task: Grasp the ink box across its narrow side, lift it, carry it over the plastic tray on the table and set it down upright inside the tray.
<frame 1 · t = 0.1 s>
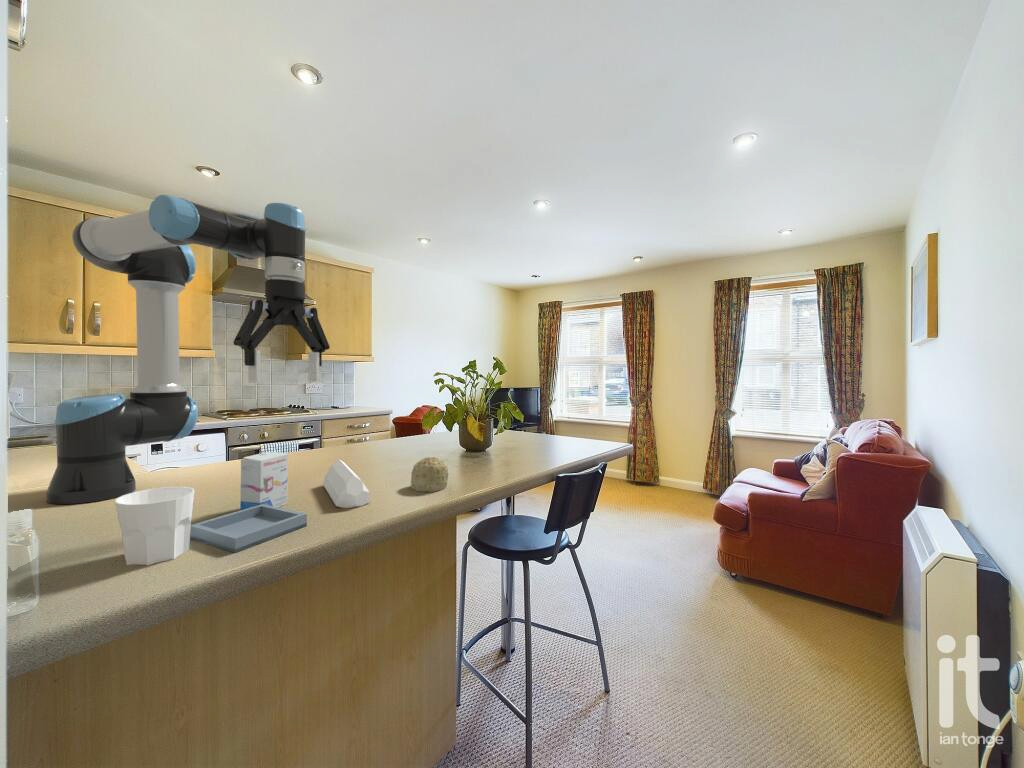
hand: (286, 382, 93), 28 cm above the countertop, fingers open, 13 cm apart
ink box: (265, 509, 96), on the countertop
decorative object: (429, 488, 115), on the countertop
crystal: (345, 496, 107), on the countertop
cup: (157, 555, 72), on the countertop
tray: (250, 532, 82), on the countertop
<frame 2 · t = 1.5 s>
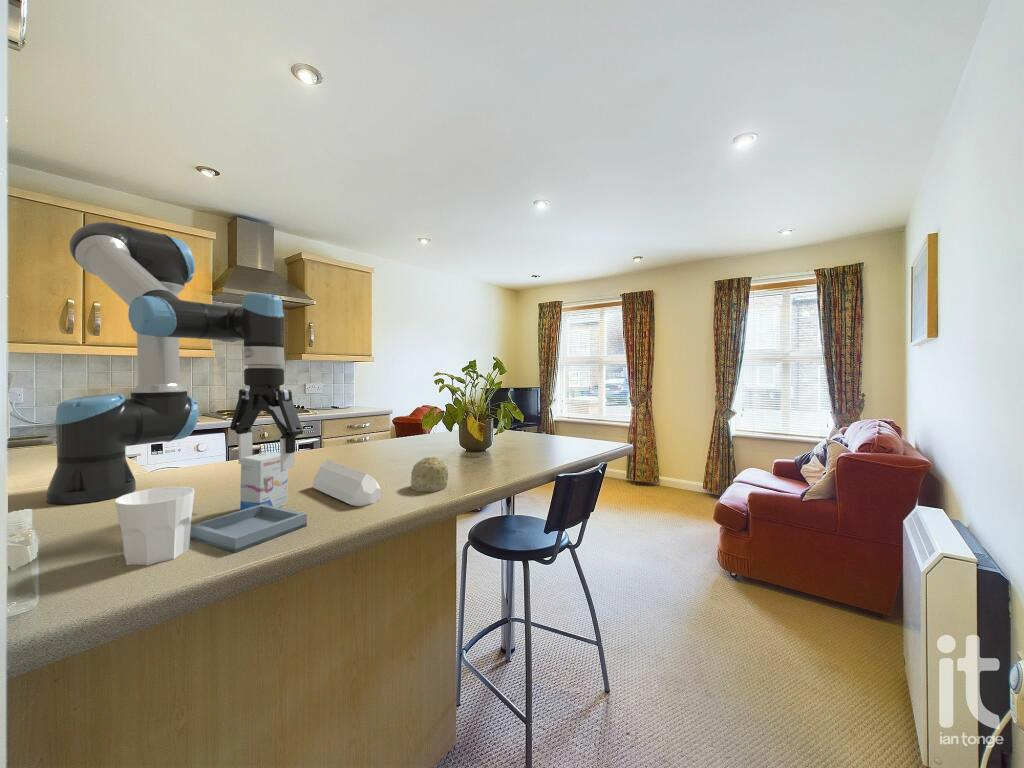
hand: (266, 465, 95), 9 cm above the countertop, fingers open, 13 cm apart
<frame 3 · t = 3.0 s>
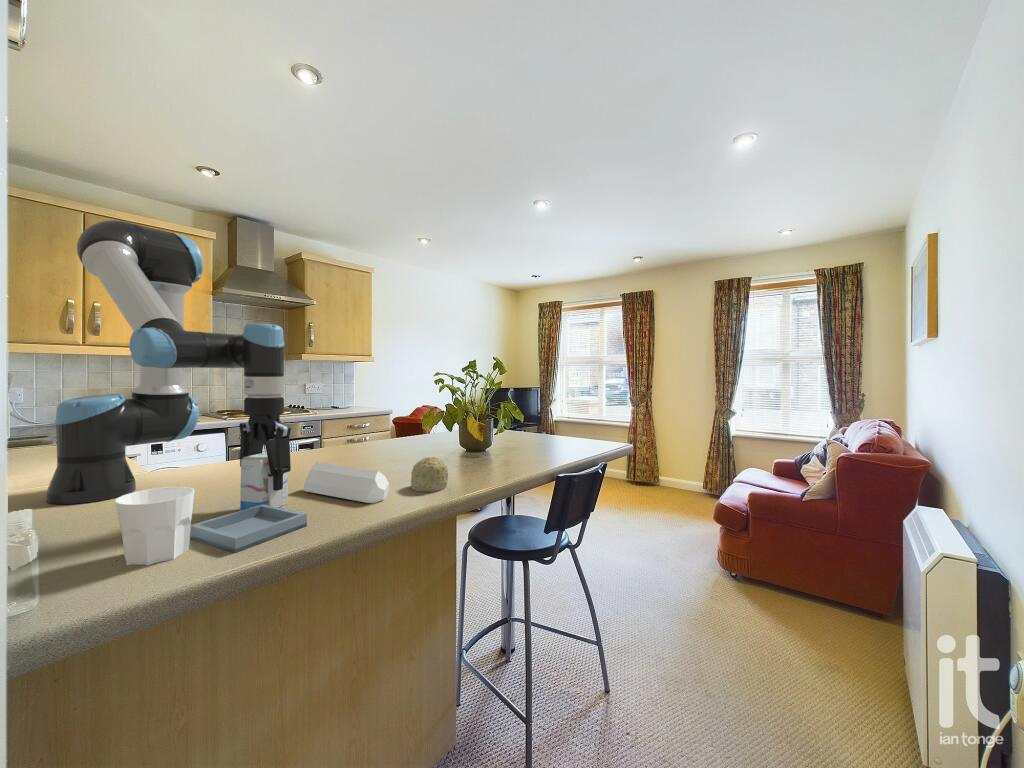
hand: (265, 502, 96), 1 cm above the countertop, fingers closed on ink box, 6 cm apart
ink box: (265, 509, 96), on the countertop, touching gripper
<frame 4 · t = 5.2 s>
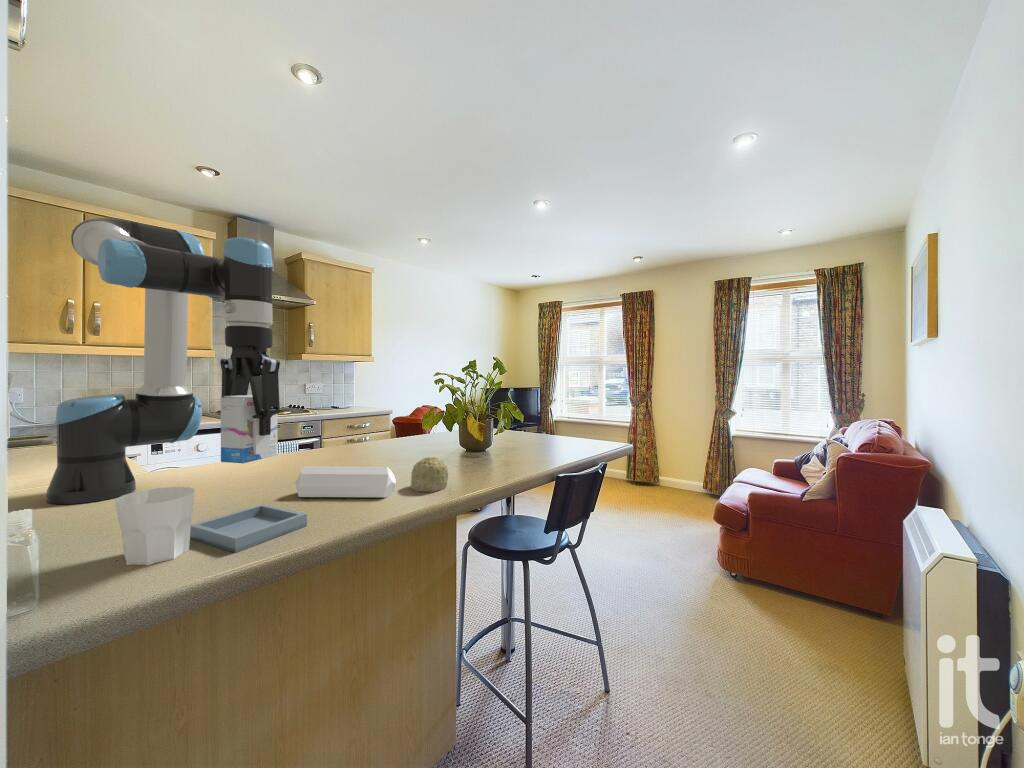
hand: (250, 451, 82), 15 cm above the countertop, fingers closed on ink box, 6 cm apart
ink box: (250, 459, 82), point 14 cm above the countertop, touching gripper
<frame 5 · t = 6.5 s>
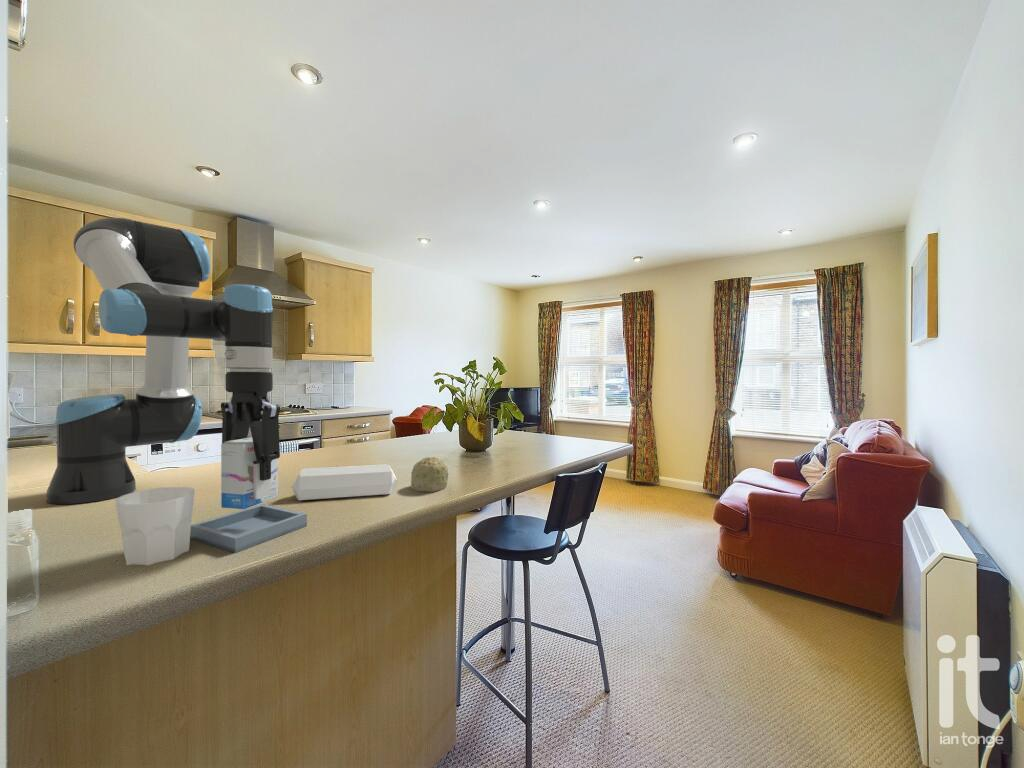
hand: (250, 494, 82), 7 cm above the countertop, fingers closed on ink box, 6 cm apart
ink box: (251, 503, 82), point 5 cm above the countertop, touching gripper
when the fingers open (3 cm above the countertop, at t = 7.6 s): ink box drops 1 cm, resting on tray.
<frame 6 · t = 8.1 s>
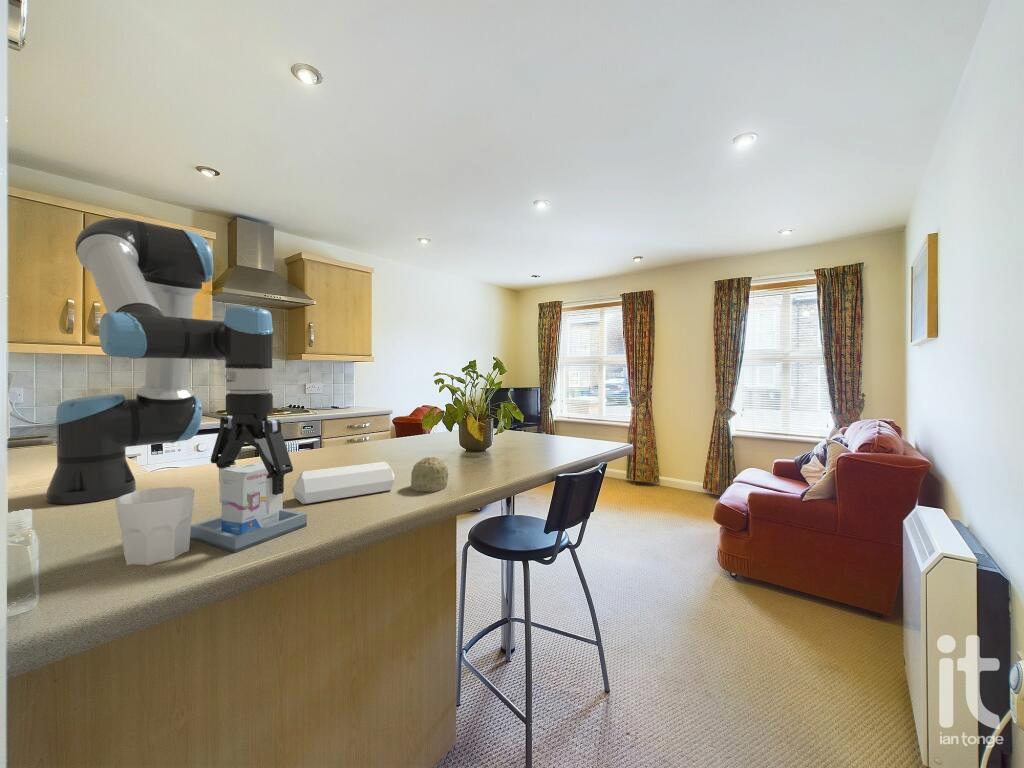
hand: (250, 506, 82), 5 cm above the countertop, fingers open, 13 cm apart
ink box: (251, 530, 82), resting on tray
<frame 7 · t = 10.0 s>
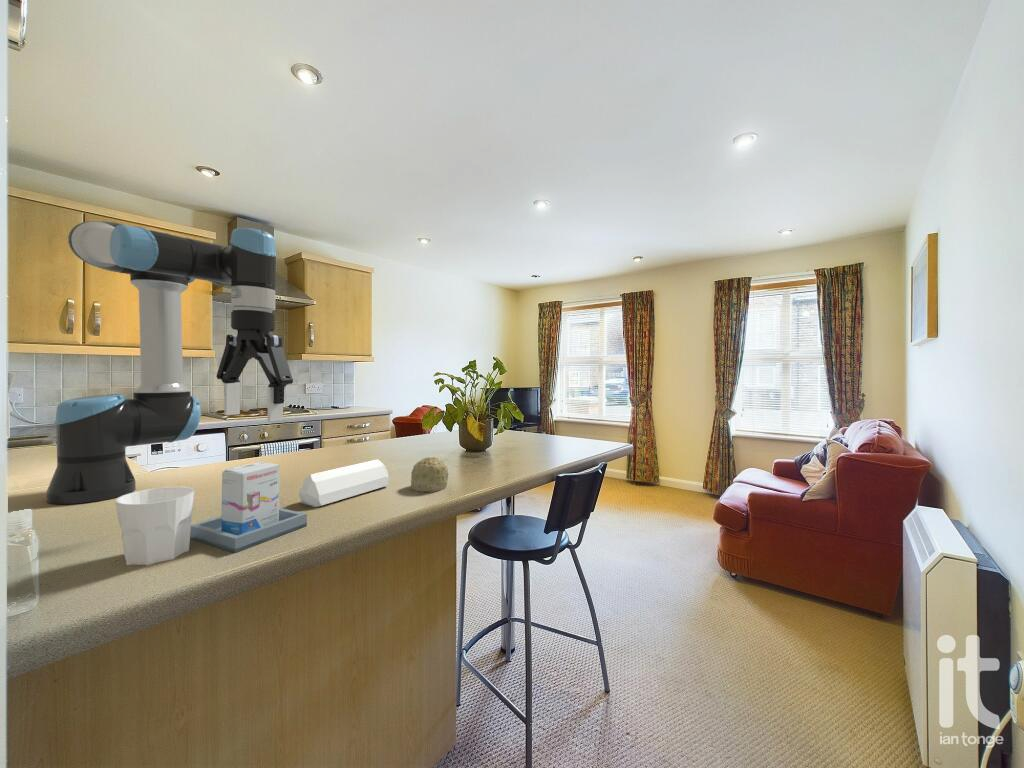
hand: (253, 417, 88), 21 cm above the countertop, fingers open, 13 cm apart
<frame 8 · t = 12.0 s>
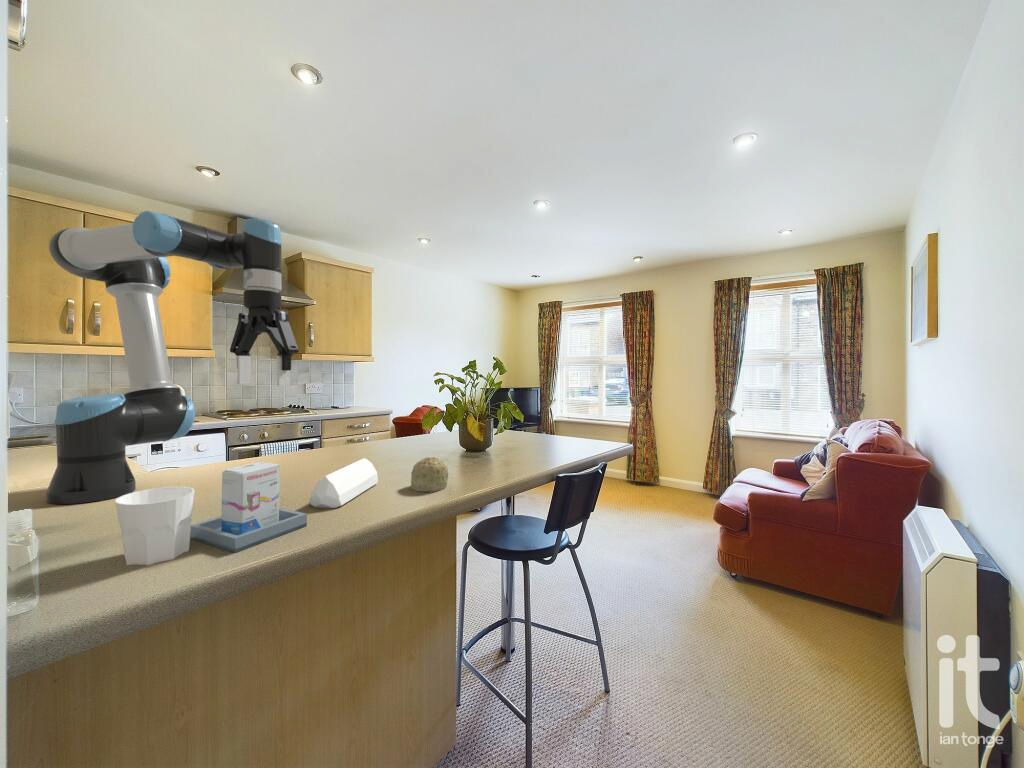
hand: (263, 384, 101), 27 cm above the countertop, fingers open, 13 cm apart
at the end: ink box inside the target area on the tray (0.2 cm from its centre), point 0.4 cm above the tray's base; ink box tilted 0°; the gripper is holding nothing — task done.
